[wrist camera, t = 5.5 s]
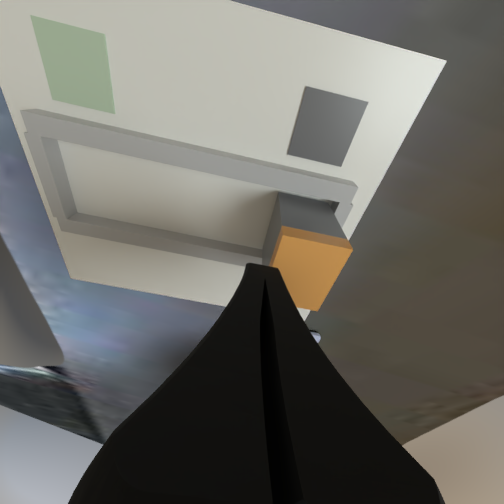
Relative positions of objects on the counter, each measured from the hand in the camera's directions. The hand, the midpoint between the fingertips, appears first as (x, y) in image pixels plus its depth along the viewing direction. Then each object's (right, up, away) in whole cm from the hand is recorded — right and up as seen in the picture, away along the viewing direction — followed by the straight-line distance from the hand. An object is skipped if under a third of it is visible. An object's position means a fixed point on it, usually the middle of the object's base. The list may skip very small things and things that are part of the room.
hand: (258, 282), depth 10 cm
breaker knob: (+2, +3, +5) cm, 6 cm away
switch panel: (-3, +5, +6) cm, 8 cm away
